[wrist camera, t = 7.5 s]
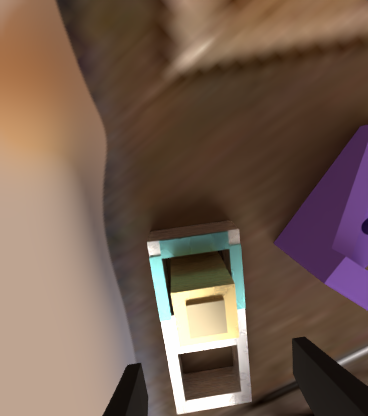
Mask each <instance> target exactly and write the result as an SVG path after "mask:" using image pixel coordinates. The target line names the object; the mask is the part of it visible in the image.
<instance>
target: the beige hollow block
mask: <svg viewBox="0 0 368 416" xmlns="http://www.w3.org/2000/svg"><path fill="white" fill-rule="evenodd" d="M171 297H172V304H173V310H174V316H175V322H176V329H177V335H178V341H179V347H184V346H190V345H197V344H203V343H209V342H215V341H221V340H228V339H234V338H239V326H238V315H237V303H236V291H235V283H234V281H233V279H232V277H231V275H230V274H229V272H228V270H227V268H226V266H225V264H224V262H223V260H222V258H221V257H220V255H219V253H218V251H211V252H204V253H197V254H190V255H183V256H177V257H171Z"/></svg>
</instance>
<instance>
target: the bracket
mask: <svg viewBox="0 0 368 416" xmlns="http://www.w3.org/2000/svg"><path fill="white" fill-rule="evenodd" d="M274 244H275V245H276V246H277V247H279V248H280V249H281V250H283V251H284V252H285V253H286V254H288V255H289V256H290V257H291V258H293V259H294V260H295V261H296V262H298V263H299V264H300V265H302V266H303V267H304V268H305V269H307V270H308V271H309V272H310V273H312V274H313V275H314V276H315V277H317V278H318V279H319V280H321V281H322V282H323V283H324V284H326V285H328V286H329V287H331V288H332V289H334V290H336V291H337V292H339V293H340V294H342V295H344V296H345V297H347V298H348V299H350V300H352V301H353V302H355V303H356V304H358V305H360V306H361V307H363V308H364V309H366V310H368V271H367V270H366V269H365V268H366V267H367V265H368V125H364V126H360V127H359V129H358V130H357V131H356V133H355V134H354V135H353V137H352V138H351V140H350V141H349V142H348V144H347V145H346V146H345V148H344V149H343V150H342V152H341V153H340V154H339V156H338V157H337V158H336V160H335V161H334V162H333V164H332V165H331V166H330V168H329V169H328V171H327V172H326V173H325V175H324V176H323V177H322V179H321V180H320V181H319V183H318V184H317V185H316V187H315V188H314V189H313V191H312V192H311V193H310V195H309V196H308V197H307V199H306V200H305V202H304V203H303V204H302V206H301V207H300V208H299V210H298V211H297V212H296V214H295V215H294V216H293V218H292V219H291V220H290V222H289V223H288V224H287V226H286V227H285V228H284V230H283V231H282V233H281V234H280V235H279V237H278V238H277V239H276V241H275V242H274Z"/></svg>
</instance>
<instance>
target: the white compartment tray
mask: <svg viewBox="0 0 368 416" xmlns="http://www.w3.org/2000/svg"><path fill="white" fill-rule="evenodd" d="M147 245H148V251H149V259H150V265H151V271H152V276H153V282H154V288H155V293H156V299H157V304H158V310H159V316H160V321H161V325H162V330H163V336H164V342H165V347H166V353H167V359H168V364H169V370H170V375H171V381H172V387H173V392H174V398H175V404H176V409H177V414H183V413H188V412H194V411H200V410H206V409H212V408H218V407H224V406H230V405H236V404H242V403H247V402H252V397H251V383H250V370H249V357H248V343H247V330H246V316H245V308H246V307H245V293H244V280H243V266H242V253H241V244H240V236H239V228H238V227H236V226H235V225H234V224H233V223H232V222H231V221H230V220H227V221H220V222H213V223H206V224H199V225H192V226H185V227H178V228H171V229H164V230H157V231H150V233H149V237H148V240H147ZM218 250H223V260H224V264H225V266H226V268H227V270H228V272H229V274H230V275H231V277H232V279H233V281H234V283H235V291H236V303H237V315H238V326H239V338H234V339H228V340H221V341H215V342H209V343H203V344H197V345H190V346H184V347H179V341H178V335H177V329H176V322H175V316H174V310H173V304H172V297H171V293H170V286H169V280H168V274H167V268H166V261H165V258H170V257H177V256H183V255H190V254H197V253H204V252H211V251H218ZM231 345H232V355H233V366H230V367H224V368H218V369H212V370H206V371H200V372H194V373H188V374H183V368H182V361H181V355H180V354H181V353H188V352H194V351H200V350H206V349H213V348H219V347H225V346H231Z"/></svg>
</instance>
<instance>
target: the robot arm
mask: <svg viewBox="0 0 368 416" xmlns="http://www.w3.org/2000/svg"><path fill="white" fill-rule="evenodd" d="M292 350H293V374H294V377H295V379H296V381H297V383H298V385H299V387H300V389H301V391H302V394H303V396H304V398H305V400H306V402H307V403H308V405H309V407H310V408H311V410H312V412H313V414H314V415H315V416H368V386H367V385H365V384H364V383H363V382H361V381H360V380H359V379H357V378H356V377H355V376H353V375H352V374H351V373H350V372H348V371H347V370H346V369H344V368H343V367H342V366H341V365H339V364H338V363H337V362H336V361H334V360H333V359H332V358H331V357H329V356H328V355H327V354H326V353H324V352H323V351H322V350H321V349H320V348H318V347H317V346H316V345H315V344H313V343H312V342H311V341H310V340H308V339H307V338H306V337H299V338H293V339H292ZM147 414H148V394H147V389H146V384H145V380H144V375H143V370H142V365H141V363H137V364H131V365H128V366H127V367H126V368H125V371H124V373H123V375H122V377H121V380H120V382H119V384H118V386H117V388H116V390H115V392H114V394H113V396H112V398H111V400H110V402H109V404H108V406H107V408H106V410H105V412H104V414H103V415H102V416H147Z"/></svg>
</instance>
